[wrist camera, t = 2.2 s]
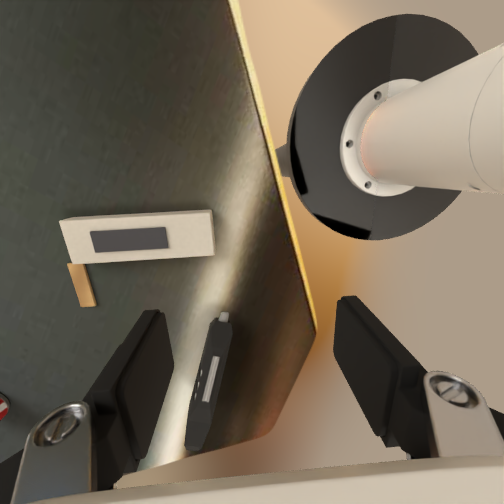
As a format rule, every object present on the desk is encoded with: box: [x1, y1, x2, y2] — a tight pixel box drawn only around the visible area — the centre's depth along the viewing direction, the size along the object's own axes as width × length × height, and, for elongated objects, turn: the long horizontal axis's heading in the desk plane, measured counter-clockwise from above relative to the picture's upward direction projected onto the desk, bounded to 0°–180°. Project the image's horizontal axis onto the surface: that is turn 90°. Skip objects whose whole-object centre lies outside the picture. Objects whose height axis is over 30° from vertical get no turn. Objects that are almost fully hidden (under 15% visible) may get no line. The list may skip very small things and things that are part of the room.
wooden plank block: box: [67, 263, 97, 307], centre depth 30 cm, size 2×6×1 cm, turn 2°
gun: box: [184, 311, 233, 451], centre depth 32 cm, size 3×16×10 cm, turn 163°
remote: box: [59, 210, 216, 264], centre depth 27 cm, size 16×5×2 cm, turn 93°
